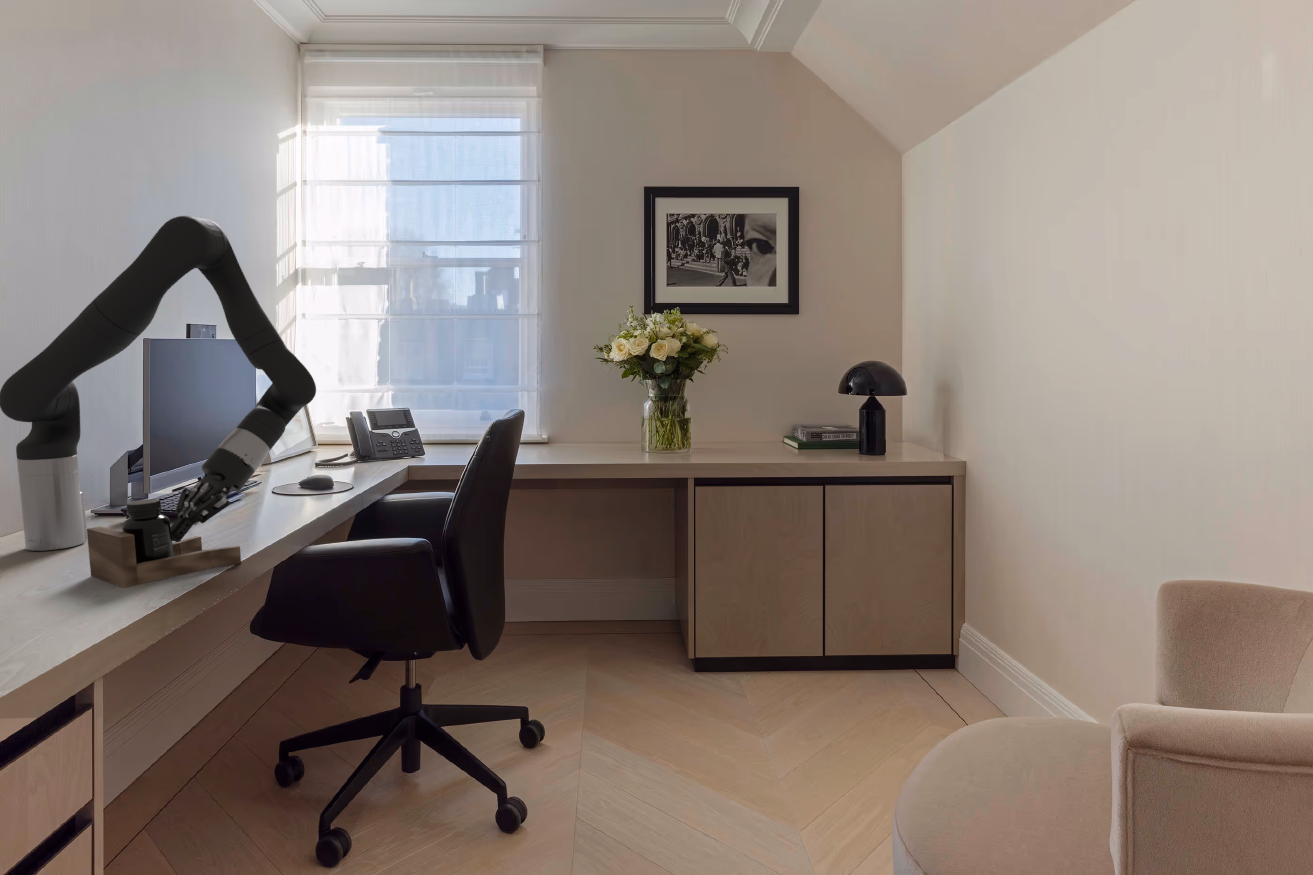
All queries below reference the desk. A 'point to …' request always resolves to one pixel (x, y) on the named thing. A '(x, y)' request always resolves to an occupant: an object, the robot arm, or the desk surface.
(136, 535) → the supplement bottle
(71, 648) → the desk surface
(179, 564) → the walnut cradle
